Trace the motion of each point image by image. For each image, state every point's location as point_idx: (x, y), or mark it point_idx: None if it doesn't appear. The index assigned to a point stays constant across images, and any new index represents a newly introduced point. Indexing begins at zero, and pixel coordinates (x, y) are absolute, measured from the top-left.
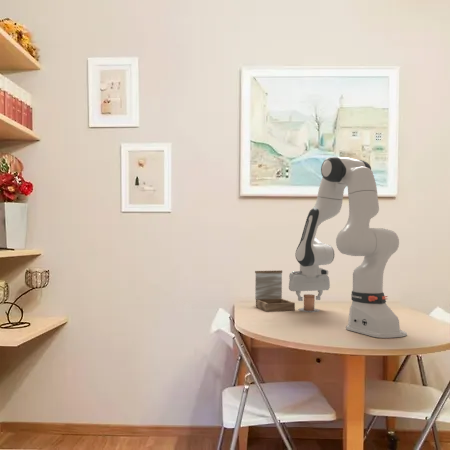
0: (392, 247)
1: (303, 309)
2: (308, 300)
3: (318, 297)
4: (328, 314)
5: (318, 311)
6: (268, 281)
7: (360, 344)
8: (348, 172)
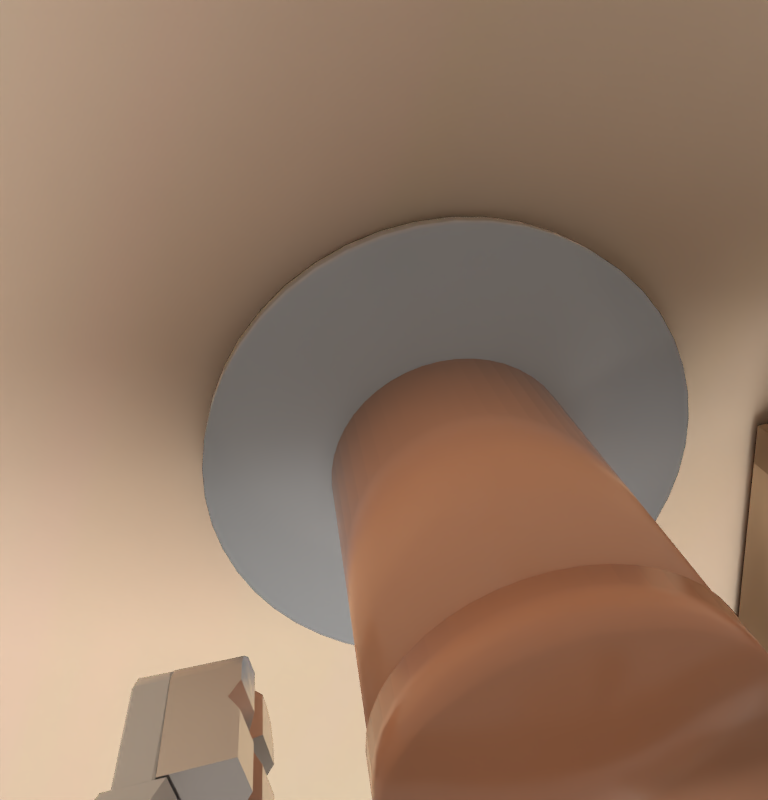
0: None
1: None
2: (628, 516)
3: (204, 730)
4: (53, 54)
5: (287, 290)
6: None
7: None
8: None
